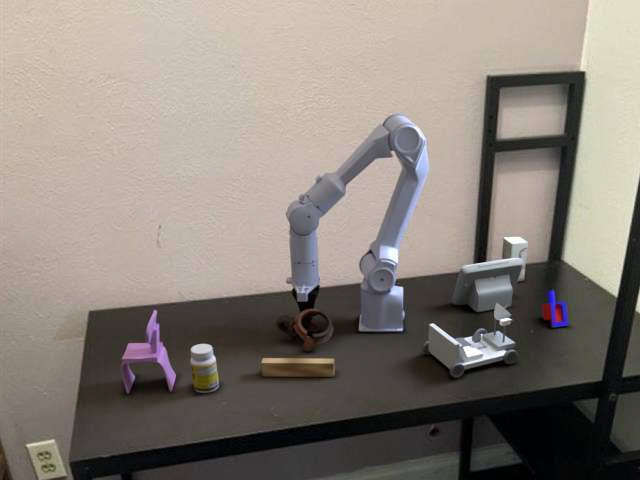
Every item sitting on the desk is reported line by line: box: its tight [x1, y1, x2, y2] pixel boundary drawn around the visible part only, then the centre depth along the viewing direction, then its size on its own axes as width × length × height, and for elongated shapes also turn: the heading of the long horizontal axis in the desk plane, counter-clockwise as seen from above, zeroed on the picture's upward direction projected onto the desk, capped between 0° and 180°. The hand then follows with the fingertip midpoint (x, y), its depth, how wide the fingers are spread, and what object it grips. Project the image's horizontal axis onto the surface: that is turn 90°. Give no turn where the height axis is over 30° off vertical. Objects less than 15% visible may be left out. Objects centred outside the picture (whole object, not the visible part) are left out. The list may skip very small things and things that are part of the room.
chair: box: [120, 309, 177, 394], centre depth 146 cm, size 8×9×15 cm
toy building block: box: [541, 289, 569, 328], centre depth 171 cm, size 4×4×8 cm
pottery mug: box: [275, 308, 335, 352], centre depth 163 cm, size 12×10×8 cm
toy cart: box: [421, 303, 519, 379], centre depth 156 cm, size 18×10×12 cm
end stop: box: [260, 357, 336, 378], centre depth 152 cm, size 14×2×3 cm, turn 88°
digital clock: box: [451, 258, 523, 313], centre depth 178 cm, size 16×9×11 cm, turn 99°
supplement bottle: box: [189, 343, 220, 394], centre depth 146 cm, size 5×5×8 cm
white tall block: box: [501, 235, 529, 283], centre depth 192 cm, size 5×4×10 cm
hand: (307, 319), depth 168 cm, fingers closed
